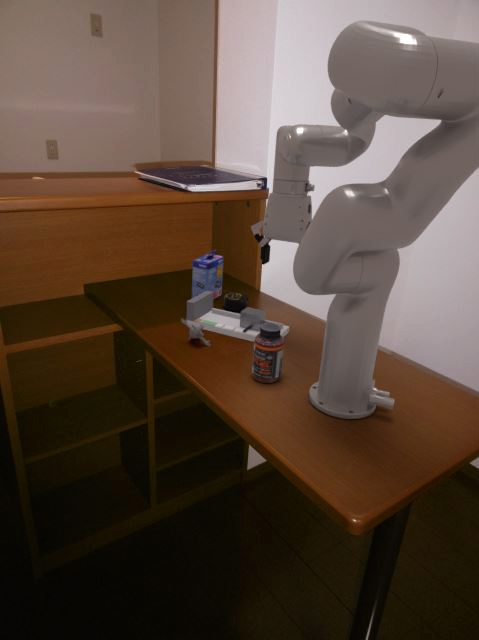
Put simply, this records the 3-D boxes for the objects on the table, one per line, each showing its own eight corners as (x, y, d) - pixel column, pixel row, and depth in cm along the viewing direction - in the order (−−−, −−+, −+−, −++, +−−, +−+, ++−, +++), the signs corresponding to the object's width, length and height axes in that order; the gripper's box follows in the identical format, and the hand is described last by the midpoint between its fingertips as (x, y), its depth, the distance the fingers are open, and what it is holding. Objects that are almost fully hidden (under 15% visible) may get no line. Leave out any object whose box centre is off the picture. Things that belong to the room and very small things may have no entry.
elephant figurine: (217, 335, 112) (218, 338, 103) (201, 351, 112) (201, 355, 103) (190, 310, 111) (188, 310, 103) (174, 326, 111) (172, 328, 103)
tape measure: (245, 314, 126) (245, 301, 124) (220, 311, 126) (221, 299, 125) (248, 305, 132) (248, 293, 130) (224, 303, 133) (225, 291, 131)
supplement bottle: (247, 380, 92) (250, 329, 88) (257, 367, 97) (260, 318, 93) (275, 387, 90) (280, 335, 86) (284, 373, 95) (289, 324, 91)
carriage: (264, 325, 114) (265, 310, 113) (253, 335, 109) (254, 319, 107) (246, 321, 116) (247, 307, 115) (234, 330, 110) (235, 315, 109)
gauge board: (288, 331, 115) (291, 308, 113) (273, 346, 107) (276, 321, 104) (206, 313, 125) (206, 290, 122) (186, 325, 116) (186, 301, 114)
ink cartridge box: (207, 304, 131) (208, 255, 125) (190, 300, 133) (191, 252, 127) (223, 294, 139) (224, 248, 134) (207, 291, 141) (208, 245, 136)
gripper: (334, 190, 98) (324, 268, 104) (260, 183, 104) (255, 257, 111) (324, 193, 91) (315, 276, 98) (246, 185, 98) (242, 264, 105)
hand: (283, 266), depth 104 cm, fingers open, 8 cm apart
